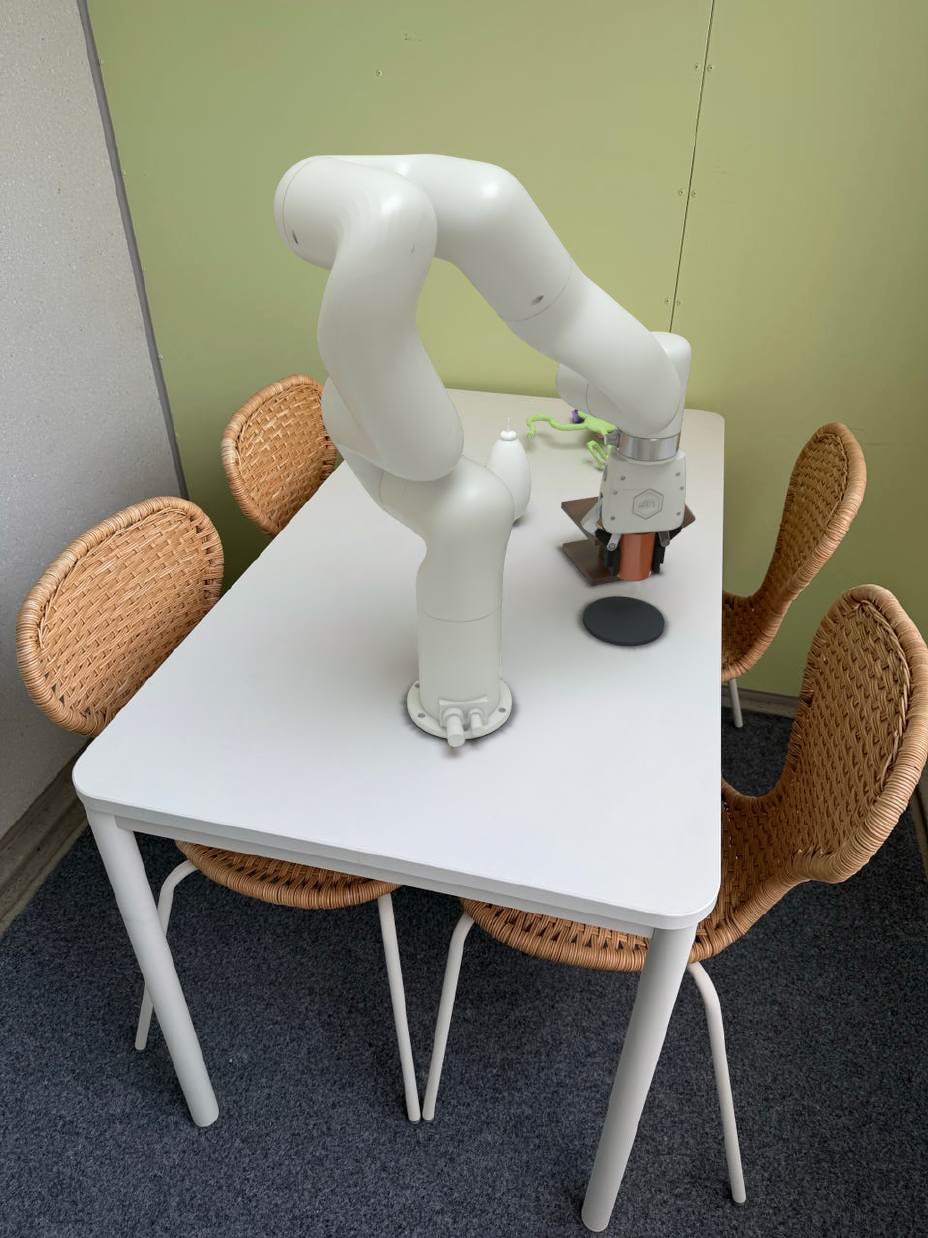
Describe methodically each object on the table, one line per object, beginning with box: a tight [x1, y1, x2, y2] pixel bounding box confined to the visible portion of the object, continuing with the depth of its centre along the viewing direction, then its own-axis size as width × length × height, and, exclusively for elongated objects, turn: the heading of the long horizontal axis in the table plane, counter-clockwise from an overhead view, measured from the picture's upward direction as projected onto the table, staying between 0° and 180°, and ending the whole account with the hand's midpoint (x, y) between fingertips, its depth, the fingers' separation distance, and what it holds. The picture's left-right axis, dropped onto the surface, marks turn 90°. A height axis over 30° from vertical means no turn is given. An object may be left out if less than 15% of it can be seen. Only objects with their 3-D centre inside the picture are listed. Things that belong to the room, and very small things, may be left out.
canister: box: [617, 532, 656, 582], centre depth 113 cm, size 5×5×7 cm
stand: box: [560, 495, 661, 586], centre depth 130 cm, size 12×12×8 cm
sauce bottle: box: [484, 416, 532, 522], centre depth 137 cm, size 8×8×18 cm
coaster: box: [582, 595, 666, 647], centre depth 119 cm, size 11×11×1 cm
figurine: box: [525, 409, 615, 470], centre depth 167 cm, size 18×27×6 cm
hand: (632, 568), depth 114 cm, fingers closed on canister, 4 cm apart
